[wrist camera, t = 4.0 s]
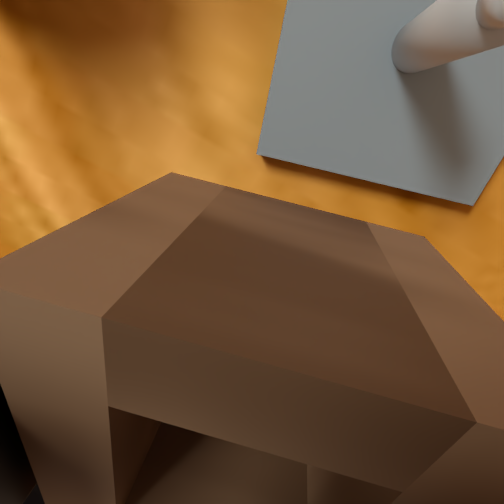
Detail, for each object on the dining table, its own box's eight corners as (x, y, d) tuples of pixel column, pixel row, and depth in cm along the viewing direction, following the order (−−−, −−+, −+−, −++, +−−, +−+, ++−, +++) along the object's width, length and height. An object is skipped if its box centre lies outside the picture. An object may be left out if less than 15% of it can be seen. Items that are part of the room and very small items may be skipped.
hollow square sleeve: (332, 396, 10) (357, 623, 6) (160, 347, 10) (54, 527, 6) (424, 236, 7) (641, 468, 2) (171, 171, 7) (-39, 278, 3)
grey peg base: (463, 200, 16) (588, 270, 9) (258, 151, 16) (229, 182, 9) (647, -111, 10) (1376, -571, 3) (325, -173, 11) (372, -690, 4)
